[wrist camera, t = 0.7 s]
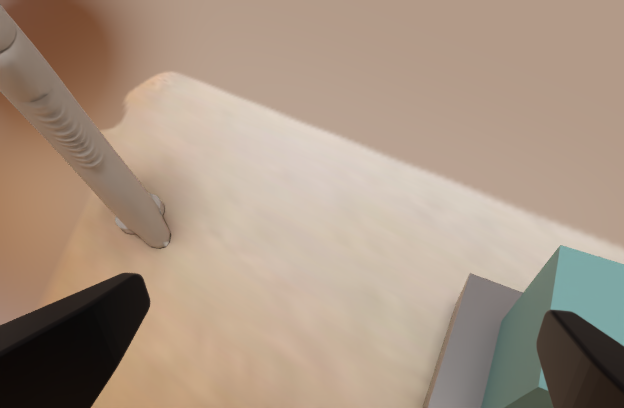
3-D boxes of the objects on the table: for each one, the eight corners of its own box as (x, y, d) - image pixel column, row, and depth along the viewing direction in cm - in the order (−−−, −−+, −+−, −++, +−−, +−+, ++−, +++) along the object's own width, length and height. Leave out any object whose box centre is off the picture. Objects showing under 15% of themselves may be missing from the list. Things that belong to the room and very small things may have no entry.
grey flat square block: (625, 588, 14) (698, 617, 11) (408, 453, 17) (415, 445, 14) (629, 374, 18) (680, 351, 15) (456, 302, 22) (470, 273, 19)
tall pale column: (102, 199, 33) (-175, -96, 16) (140, 176, 34) (-78, -116, 18) (145, 265, 27) (-215, -88, 10) (189, 234, 29) (-66, -119, 12)
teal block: (621, 501, 12) (807, 511, 7) (477, 423, 14) (538, 386, 9) (624, 371, 15) (763, 307, 10) (501, 320, 17) (560, 245, 12)
